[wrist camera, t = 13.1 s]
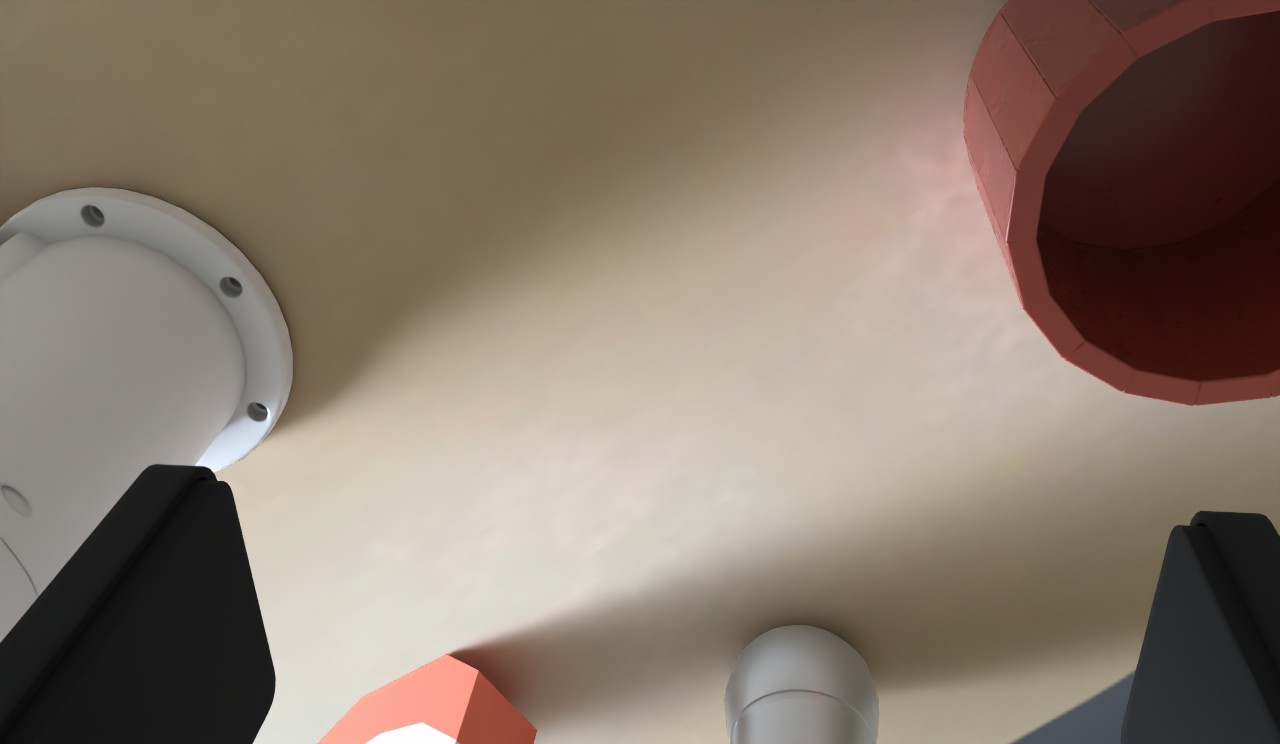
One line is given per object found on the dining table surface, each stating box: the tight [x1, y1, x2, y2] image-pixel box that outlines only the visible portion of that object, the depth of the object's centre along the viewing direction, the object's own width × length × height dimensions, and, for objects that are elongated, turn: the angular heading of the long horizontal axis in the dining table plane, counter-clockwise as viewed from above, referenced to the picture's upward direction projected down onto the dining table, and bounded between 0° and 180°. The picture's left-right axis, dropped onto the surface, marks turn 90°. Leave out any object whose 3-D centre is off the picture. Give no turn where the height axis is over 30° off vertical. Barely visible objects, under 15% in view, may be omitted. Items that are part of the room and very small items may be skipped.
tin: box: [963, 0, 1280, 406], centre depth 34 cm, size 12×12×10 cm
